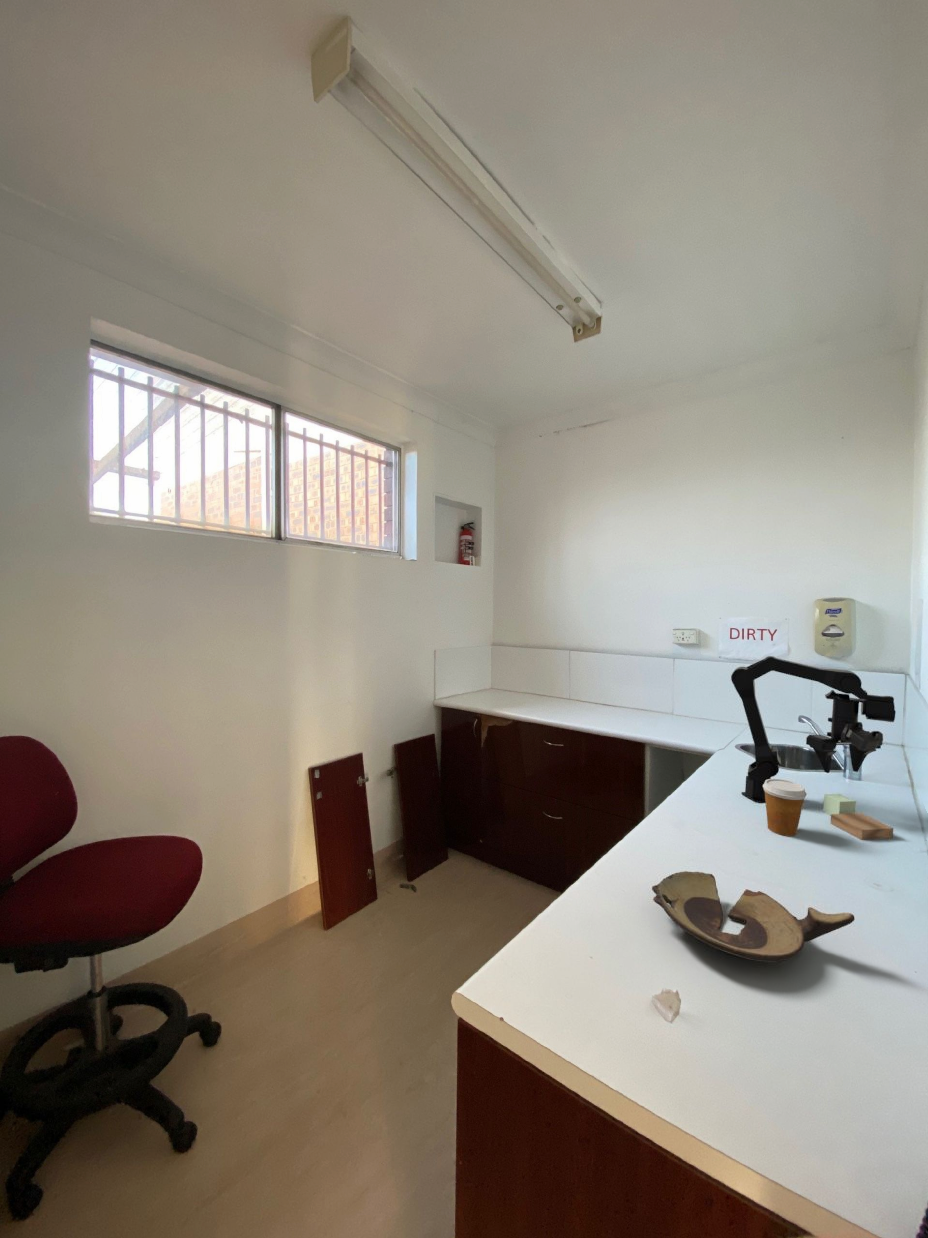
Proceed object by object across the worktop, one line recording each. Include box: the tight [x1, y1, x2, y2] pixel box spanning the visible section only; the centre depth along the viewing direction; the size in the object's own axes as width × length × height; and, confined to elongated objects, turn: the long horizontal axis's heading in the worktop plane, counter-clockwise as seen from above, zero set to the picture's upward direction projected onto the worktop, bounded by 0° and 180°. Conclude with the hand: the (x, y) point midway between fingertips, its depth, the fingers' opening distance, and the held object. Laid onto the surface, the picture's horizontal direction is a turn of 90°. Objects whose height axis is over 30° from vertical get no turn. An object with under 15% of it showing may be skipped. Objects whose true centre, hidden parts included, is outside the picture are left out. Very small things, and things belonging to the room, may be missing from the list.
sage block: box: [822, 793, 857, 816], centre depth 140 cm, size 5×5×5 cm
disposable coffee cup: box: [763, 778, 808, 837], centre depth 130 cm, size 10×10×12 cm
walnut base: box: [830, 812, 894, 841], centre depth 131 cm, size 9×9×2 cm
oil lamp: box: [651, 870, 855, 963], centre depth 88 cm, size 22×30×8 cm
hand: (841, 772), depth 140 cm, fingers open, 9 cm apart
